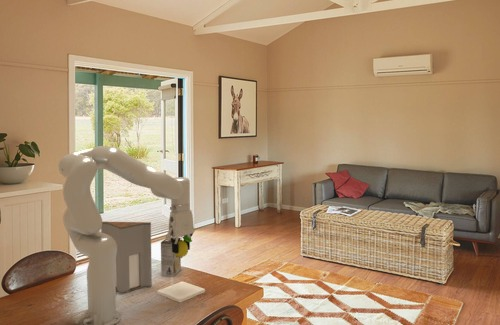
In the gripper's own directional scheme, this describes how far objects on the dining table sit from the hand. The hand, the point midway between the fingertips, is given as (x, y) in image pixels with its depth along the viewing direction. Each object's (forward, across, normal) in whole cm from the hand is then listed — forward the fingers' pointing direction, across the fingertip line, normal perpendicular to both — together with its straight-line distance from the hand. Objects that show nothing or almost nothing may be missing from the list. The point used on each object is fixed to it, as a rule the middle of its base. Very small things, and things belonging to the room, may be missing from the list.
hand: (181, 250), depth 178 cm
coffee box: (+18, +13, +21) cm, 31 cm away
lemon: (+3, 0, 0) cm, 3 cm away
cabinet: (+18, -13, +21) cm, 31 cm away
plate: (+18, 0, 0) cm, 18 cm away
